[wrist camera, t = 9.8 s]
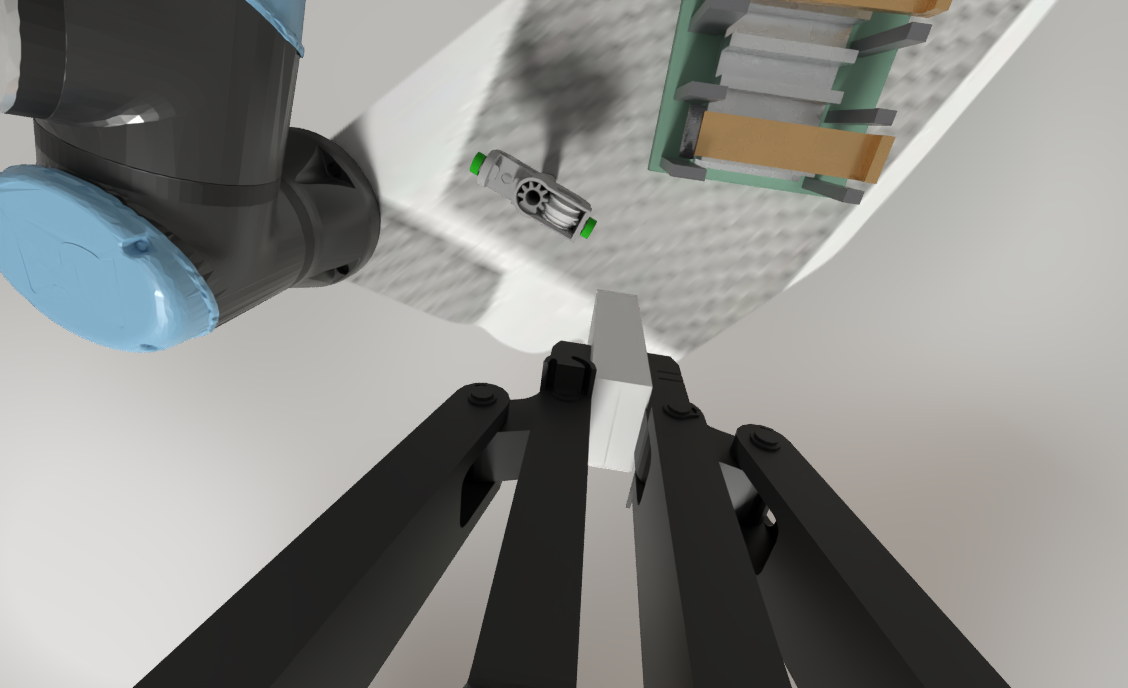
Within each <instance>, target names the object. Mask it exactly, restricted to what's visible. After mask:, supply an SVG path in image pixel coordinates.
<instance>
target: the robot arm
mask: <svg viewBox="0 0 1128 688" xmlns="http://www.w3.org/2000/svg"><path fill="white" fill-rule="evenodd" d="M305 1H306V0H0V113H5V114H12V115H19V116H26V117H31V118H33V120H34V134H35V147H36V160H37V162H36V165H26V164H22V165H15V166H10V167H8V168H6V169H5V170H4V171H3V172H0V272H1V273H2V274H3V276H4V277H5V278H6V279H7V281H8V282H9V283H10V284H11V285H12V286H13V287H14V288H15V289H16V290H17V291H18V292H19V293H20V294H21V295H22V296H24V297H25V298H26V299H27V300H28V301H29V302H30V303H31V304H32V305H33V306H34V307H35V308H36V309H38V310H39V311H40V312H41V313H43V314H44V315H45V316H47V317H48V318H49V319H51V320H52V321H54V322H56V323H57V324H58V325H60V326H62V327H63V328H65V329H67V330H68V331H70V332H72V333H74V334H76V335H78V336H80V337H82V338H84V339H86V340H89V341H91V342H94V343H96V344H99V345H102V346H105V347H109V348H112V349H116V350H122V351H128V352H155V351H160V350H165V349H168V348H171V347H173V346H175V345H177V344H180V343H182V342H184V341H187V340H189V339H191V338H196V337H199V336H205V335H207V334H209V333H210V332H212V331H213V330H214V329H215V328H217V327H218V326H220V325H222V324H224V323H226V322H228V321H229V320H231V319H233V318H235V317H237V316H238V315H240V314H242V313H244V312H246V311H247V310H249V309H251V308H253V307H255V306H257V305H259V304H260V303H262V302H264V301H266V300H268V299H269V298H271V297H273V296H275V295H277V294H279V293H280V292H282V291H284V290H286V289H288V288H305V287H323V286H328V285H332V284H335V283H338V282H340V281H342V280H344V279H346V278H348V277H349V276H351V275H353V274H354V273H356V272H357V271H359V270H360V269H361V268H362V267H363V266H364V265H365V264H366V263H367V262H368V261H369V259H370V258H371V256H372V254H373V252H374V250H375V248H376V245H377V242H378V237H379V230H380V219H379V211H378V206H377V202H376V198H375V195H374V193H373V190H372V188H371V186H370V184H369V182H368V180H367V178H366V176H365V175H364V173H363V172H362V170H361V169H360V168H359V166H358V165H357V164H356V162H355V161H354V160H353V159H352V158H351V157H350V156H349V155H348V154H347V153H346V152H345V151H344V150H343V149H341V148H340V147H339V146H338V145H336V144H335V143H333V142H332V141H330V140H329V139H327V138H325V137H323V136H321V135H319V134H317V133H315V132H312V131H309V130H305V129H301V128H295V127H289V125H290V119H291V112H292V105H293V98H294V92H295V85H296V79H297V72H298V66H299V59H300V57H302V58H303V56H304V47H303V45H302V43H301V40H302V30H303V20H304V10H305ZM634 458H635V473H634V477H633V481H632V485H631V488H630V492H629V497H628V500H627V504H626V508H630V506H631V503H632V504H633V520H634V535H635V536H634V537H635V552H636V567H637V586H638V601H639V618H640V634H641V650H642V667H643V684H644V688H792V687H791V684H790V681H789V677H788V674H787V671H786V668H785V665H786V667H787V669H788V671H789V672H790V674H791V676H792V678H793V680H794V681H795V684H796V686H797V687H798V688H1011V687H1010V686H1009V685H1008V684H1007V683H1006V682H1005V680H1004V679H1003V678H1002V677H1001V676H1000V675H999V674H998V673H997V672H996V670H995V669H994V668H993V667H992V666H991V665H990V664H989V663H988V662H987V661H986V659H985V658H984V657H983V656H982V655H981V654H980V653H979V652H978V650H976V648H975V647H974V646H973V645H972V644H971V643H970V642H969V640H968V639H967V638H966V637H965V636H964V635H963V634H962V633H961V632H960V630H959V629H958V628H957V627H956V626H955V625H954V624H953V623H952V621H951V620H950V619H949V618H948V617H947V616H946V615H945V614H944V613H943V612H942V610H941V609H940V608H939V607H938V606H937V605H936V604H935V603H934V602H933V600H932V599H931V598H930V597H929V596H928V595H927V594H926V593H925V592H924V590H923V589H922V588H921V587H920V586H919V585H918V584H917V583H916V582H915V580H914V579H913V578H912V577H911V576H910V575H909V574H908V573H907V572H906V570H905V569H904V568H903V567H902V566H901V565H900V564H899V563H898V561H896V559H895V558H894V557H893V556H892V555H891V554H890V553H889V551H888V550H887V549H886V548H885V547H884V546H883V545H882V544H881V543H880V542H879V540H878V539H877V538H876V537H875V536H874V535H873V534H872V533H871V531H870V530H869V529H868V528H867V527H866V526H865V525H864V524H863V523H862V521H861V520H860V519H859V518H858V517H857V516H856V515H855V514H854V513H853V511H852V510H851V509H850V508H849V507H848V506H847V505H846V504H845V503H844V501H843V500H842V499H841V498H840V497H839V496H838V495H837V494H836V493H835V492H834V490H833V489H832V488H831V487H830V486H829V485H828V484H827V483H826V482H825V480H824V479H823V478H822V477H821V476H820V475H819V474H818V473H817V471H816V470H815V469H814V468H813V467H812V466H811V465H810V464H809V463H808V461H807V460H806V459H805V458H804V457H803V456H802V455H801V454H800V453H799V451H798V450H797V449H796V448H795V447H794V446H793V445H792V444H791V442H790V441H788V440H787V439H786V438H785V437H784V436H783V435H781V434H779V433H778V432H776V431H774V430H773V429H771V428H768V427H765V426H762V425H754V424H747V425H742V426H740V427H739V428H738V429H737V431H736V434H735V436H734V435H731V434H728V433H725V432H722V431H719V430H717V429H715V428H712V427H710V426H708V425H707V423H706V420H705V417H704V415H703V413H702V412H701V410H700V409H699V408H697V407H696V406H695V405H694V404H692V403H690V402H689V399H688V395H687V392H686V388H685V385H684V383H683V378H682V376H681V371H680V368H679V365H678V364H677V363H676V362H675V361H674V360H673V359H672V358H671V357H670V356H663V355H657V354H651V353H647V351H646V345H645V339H644V333H643V327H642V322H641V316H640V310H639V304H638V298H637V295H631V294H625V293H618V292H612V291H605V290H599V289H597V293H596V299H595V305H594V311H593V316H592V322H591V328H590V334H589V339H588V345H586V344H579V343H573V342H567V341H560V342H558V343H557V344H556V345H554V346H553V348H552V352H551V355H550V356H548V357H547V358H546V359H545V361H544V363H543V371H542V378H541V386H540V392H539V393H538V394H537V395H534V396H532V397H529V398H526V399H517V400H510V398H509V395H508V393H507V392H506V391H505V390H504V389H503V388H501V387H498V386H496V385H493V384H488V383H473V384H469V385H465V386H463V387H462V388H460V389H459V390H457V391H456V392H455V393H454V394H453V395H452V396H451V397H450V398H448V399H447V400H446V401H445V402H444V403H443V404H442V405H441V406H440V407H439V408H438V409H436V410H435V411H434V412H433V413H432V414H431V415H430V416H429V417H428V418H427V419H425V420H424V421H423V422H422V423H421V424H420V425H419V426H418V427H417V428H416V429H415V430H413V431H412V432H411V433H410V434H409V435H408V436H407V437H406V438H405V439H404V440H402V441H401V442H400V443H399V444H398V445H397V446H396V447H395V448H394V449H393V450H392V451H390V452H389V453H388V454H387V455H386V456H385V457H384V458H383V459H382V460H381V461H380V462H379V463H377V464H376V465H375V466H374V467H373V468H372V469H371V470H370V471H369V472H368V473H367V474H365V475H364V476H363V477H362V478H361V479H360V480H359V481H358V482H357V483H356V484H354V485H353V486H352V487H351V488H350V489H349V490H348V491H347V492H346V493H345V494H344V495H342V496H341V497H340V498H339V499H338V500H337V501H336V502H335V503H334V504H333V505H332V506H330V507H329V508H328V509H327V510H326V511H325V512H324V513H323V514H322V515H321V516H320V517H318V518H317V519H316V520H315V521H314V522H313V523H312V524H311V525H310V526H309V527H308V528H306V529H305V530H304V531H303V532H302V533H301V534H300V535H299V536H298V537H297V538H296V539H294V541H292V542H291V543H290V544H289V545H288V546H287V547H286V548H285V549H283V550H282V551H281V552H280V553H279V554H278V555H277V556H276V557H275V558H274V559H273V560H272V561H270V562H269V563H268V564H267V565H266V566H265V567H264V568H263V569H262V570H261V571H259V572H258V574H256V575H255V576H254V577H253V578H252V579H251V580H250V581H249V582H247V583H246V584H245V585H244V586H243V587H242V588H241V589H240V590H239V591H238V592H237V593H235V594H234V595H233V596H232V597H231V598H230V599H229V600H228V601H227V602H226V603H225V604H224V605H222V606H221V607H220V608H219V609H218V610H217V611H216V612H215V613H214V614H213V615H212V616H210V617H209V618H208V619H207V620H206V621H205V622H204V623H203V624H202V625H200V626H199V627H198V628H197V629H196V630H195V631H194V632H193V633H192V634H191V635H190V636H189V637H187V638H186V639H185V640H184V641H183V642H182V643H181V644H180V645H179V646H178V647H176V648H175V649H174V650H173V651H172V652H171V653H170V654H169V655H168V656H167V657H166V658H164V659H163V660H162V661H161V662H160V663H159V664H158V665H157V666H156V667H155V668H154V669H153V670H151V671H150V672H149V673H148V674H147V675H146V676H145V677H144V678H143V679H142V680H140V681H139V682H138V683H137V684H136V685H135V686H134V687H133V688H368V686H369V685H370V683H371V682H372V680H373V679H374V677H375V676H376V674H377V673H378V671H379V670H380V668H381V667H382V665H383V664H384V662H385V661H386V659H387V658H388V656H389V655H390V653H391V652H392V650H393V649H394V647H395V646H396V644H397V643H398V641H399V639H400V638H401V637H402V635H403V634H404V632H405V631H406V629H407V628H408V626H409V624H410V623H411V621H412V620H413V618H414V617H415V615H416V614H417V612H418V611H419V609H420V608H421V606H422V605H423V603H424V602H425V600H426V599H427V597H428V596H429V594H430V593H431V591H432V590H433V588H434V587H435V585H436V583H437V582H438V581H439V579H440V578H441V576H442V575H443V573H444V572H445V570H446V569H447V567H448V565H449V564H450V563H451V561H452V560H453V558H454V557H455V555H456V554H457V552H458V551H459V549H460V547H461V546H462V545H463V543H464V541H465V540H466V538H467V537H468V536H469V534H470V532H471V531H472V529H473V528H474V526H475V525H476V523H477V522H478V520H479V519H480V517H481V516H482V514H483V513H484V511H485V510H486V508H487V507H488V505H489V504H490V502H491V501H492V499H493V498H494V496H495V495H496V493H497V492H498V490H499V489H500V486H501V483H502V481H507V480H518V481H517V485H516V489H515V493H514V498H513V502H512V506H511V510H510V514H509V518H508V522H507V526H506V530H505V534H504V539H503V542H502V546H501V551H500V554H499V559H498V563H497V566H496V571H495V575H494V579H493V583H492V587H491V591H490V595H489V599H488V603H487V607H486V611H485V615H484V619H483V623H482V628H481V631H480V635H479V640H478V644H477V648H476V652H475V656H474V660H473V664H472V668H471V671H470V675H469V678H468V681H467V683H466V685H465V686H464V687H463V688H576V683H577V682H576V681H577V664H578V644H579V626H580V607H581V587H582V570H583V569H582V568H583V551H584V531H585V512H586V493H587V475H588V466H593V467H599V468H605V469H612V470H618V471H624V472H631V469H632V465H633V461H634ZM769 509H770V511H771V512H772V513H773V515H774V517H775V519H776V522H775V524H773V523H772V522H771V521H770V520H769V518H768V517H767V512H768V510H769ZM783 661H784V662H783ZM784 663H785V665H784Z"/></svg>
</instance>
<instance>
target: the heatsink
mask: <svg viewBox="0 0 1128 688" xmlns="http://www.w3.org/2000/svg"><path fill="white" fill-rule="evenodd" d="M872 13H873V11H866V10H857V9H849V8H841V7H832V6H824V5H815V4H807V3H799V2H790V1H782V0H750V4H749V8H748V12H747V14H746V15H744V16H743V17H742V18H741V19H739V20H738V21H737V22H735V23H734V24H733V25H731V26H730V27H729V28H728V29H726V30H725V31H724V32H723V33H722V37H721V41H720V45H719V49H718V54H717V58H716V62H715V66H714V70H713V75H712V79H711V83H710V84H716V85H723V86H728V90H727V94H726V98H725V100H722V101H717V102H711V103H706V104H705V106H707V108H706V111H710V112H717V113H724V114H731V115H738V116H745V117H752V118H759V119H766V120H773V121H780V122H787V123H794V124H801V125H808V126H815V127H818V126H819V123H820V120H821V118H822V115H823V112H824V109H825V106H826V105H835V104H840V103H841V100H842V97H843V94H844V92H841V91H834V90H831V88H832V85H833V83H834V80H835V77H836V74H837V71H838V68H839V67H842V66H846V65H851V64H854V63H855V61H856V58H857V55H858V52H859V50H852V49H845V48H846V45H847V42H848V39H849V36H850V33H851V30H852V27H853V26H856V25H858V24H861V23H864V22H866V21H869V20H870V18H871V16H872ZM692 162H693V163H695V164H697V165H699V166H701V167H704V168H711V169H717V170H724V171H731V172H737V173H744V174H751V175H757V176H764V177H771V178H778V179H784V180H791V181H798V182H800V179H801V176H807V177H813V178H814V176H815V174H814V173H807V172H801V171H794V170H788V169H781V168H774V167H768V166H761V165H755V164H748V163H742V162H735V161H728V160H722V159H715V158H709V157H702V156H696V155H695V158H694V160H693V159H692Z"/></svg>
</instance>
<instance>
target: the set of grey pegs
mask: <svg viewBox="0 0 1128 688" xmlns="http://www.w3.org/2000/svg"><path fill="white" fill-rule="evenodd" d="M749 4H750V0H706V1H705V2H704V3H703V4H702V6H701V7H700V8H699V9H698V10H697V12H696V13H695V14H694V15H693V17H692V18H691V19H690V22H689V27H688V32H692V33H699V34H706V35H713V36H719V35H720V34H721V33H722V32H724V31H725V30H726V29H728V28H729V27H730V26H731V25H733V24H734V23H735V22H737V21H738V20H739V19H741V18H742V17H743V16H744V15H746V14H747V12H748V8H749ZM931 27H932V25H931V24H924V23H917V22H911V23H908V24H905V25H902V26H899V27H896V28H893V29H890V30H887V31H884V32H881V33H878V34H875V35H871V36H868V37H865V38H862V39H859V40H856V41H853V42H851V45H850V48H849V49H852V50H859V52H858V55H857V57H861V58H863V57H867V56H871V55H875V54H879V53H883V52H887V51H891V50H895V49H899V48H903V47H907V46H911V45H915V44H919V43H923V42H926V39H927V37H928V34H929V32H930V29H931ZM727 90H728V86H723V85H716V84H709V83H702V82H695V81H692V82H689V83H687V84H685V85H683V86H681V87H679V88H677V89H675V94H674V98H673V100H676V101H683V102H690V103H697V104H706V103H711V102H717V101H722V100H725V98H726V94H727ZM896 113H897V111H895V110H888V109H881V108H874V109H854V110H834V111H827V114H826V117H825V120H824V123H828V124H835V125H875V126H891V125H892V123H893V120H894V118H895V115H896ZM659 166H660V167H661V168H662V169H663V170H665V171H666V172H667V173H668V174H669V175H670V176H673V177H680V178H686V179H693V180H700V181H704V180H705V177H706V173H707V169H705V168H703V167H701V166H699V165H697V164H695V163H693V162H691V161H689V160H682V159H676V158H669V157H662V156H661V160H660V165H659ZM801 188H803V189H806V190H809V191H812V192H815V193H818V194H821V195H823V196H826V197H829V198H832V199H835V200H838V201H841V202H845V203H852V204H860V202H861V199H862V197H863V194H864V191H860V190H856V189H853V188H849V187H845V186H842V185H838V184H834V183H831V182H827V181H823V180H820V179H814V178H807V177H805V178H804V181H803V184H802V187H801Z"/></svg>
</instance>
